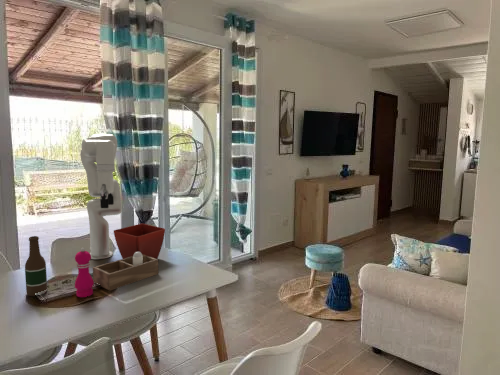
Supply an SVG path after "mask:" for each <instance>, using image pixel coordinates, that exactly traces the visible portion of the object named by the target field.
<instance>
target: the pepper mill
mask: <svg viewBox="0 0 500 375" xmlns="http://www.w3.org/2000/svg"><path fill="white" fill-rule="evenodd" d="M90 253H91V252H89V251H86V249H85V247H81V248H80V251H78V252H77V253H76V254H75V256H74V261H75V263H76V268H77V270H78V271H77V272H78V274H77V276H76V279H75V282H74V288H75V289H76V291H75V292H76V293H75V295H76V297H78V298H87V296H88V297H91V296H92V295H93V294H94V289H93V288H94V284H95V283H94V282H93V276H92V275H91V274H90V266H91V262H90V261H91V260H92V259H91V255H90Z"/></svg>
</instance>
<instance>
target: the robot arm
mask: <svg viewBox="0 0 500 375" xmlns="http://www.w3.org/2000/svg"><path fill="white" fill-rule="evenodd" d="M117 150H118V139H117V137H116V136H115V135H114V134H111V133H94V134H90V135H89V136H88V137H86V138H83V139H82V141H81V150H80V151H79V152H80V155H79V156H80V161H81V164H82V167H83V168H84V170H85V173H86V181H87V189H88V193H89V194H88V195H90V197H93V198H92V199H90V200H89V201H88V202H87V203H86V209H87V214H88V222H89V242H90V244H89V245H90V247H89V248H88V250H90V252H89V253H90V255H91V259H90V260H104V259H108V258H111V257H112V256H114V255H113V254H114V253H113V251H111V250H110V225H109V222H108V220H106V219H105V218H104V217H107V216H115V215H116V216H117V215H120V214H121V213H122V211H123V206H122V205H123V204H122V203H123V202H122V196H121V195H122V194H121V188H120V183H119V181H118V180H117V179H115V178H114V172H116V166H115V162H116V161H115V160H116V154H117Z"/></svg>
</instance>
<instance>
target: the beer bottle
mask: <svg viewBox="0 0 500 375" xmlns="http://www.w3.org/2000/svg"><path fill="white" fill-rule="evenodd" d="M39 239H40V238H39V236H37V235H34V236H30V237H28V241H29V243H28V244H29V253H28V258H27V259H26V261H25V265H24V275H25V276H24V278H25V288H26V289H25V290H26V291H25V292H26V295H27V296H29V297H32V298H33V297H36V296H35V293H38V292H41V291H44V290H46V289H47V290H48V278H47V274H48V273H47V264H46V259H45V258H44V256H42V254H41V250H40V244H39Z"/></svg>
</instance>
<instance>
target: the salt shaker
mask: <svg viewBox="0 0 500 375" xmlns="http://www.w3.org/2000/svg"><path fill="white" fill-rule="evenodd" d="M142 263H143V255H142V253H141V252H135V253H134V255H133V265H134V266H136V265H139V264H142Z"/></svg>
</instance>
